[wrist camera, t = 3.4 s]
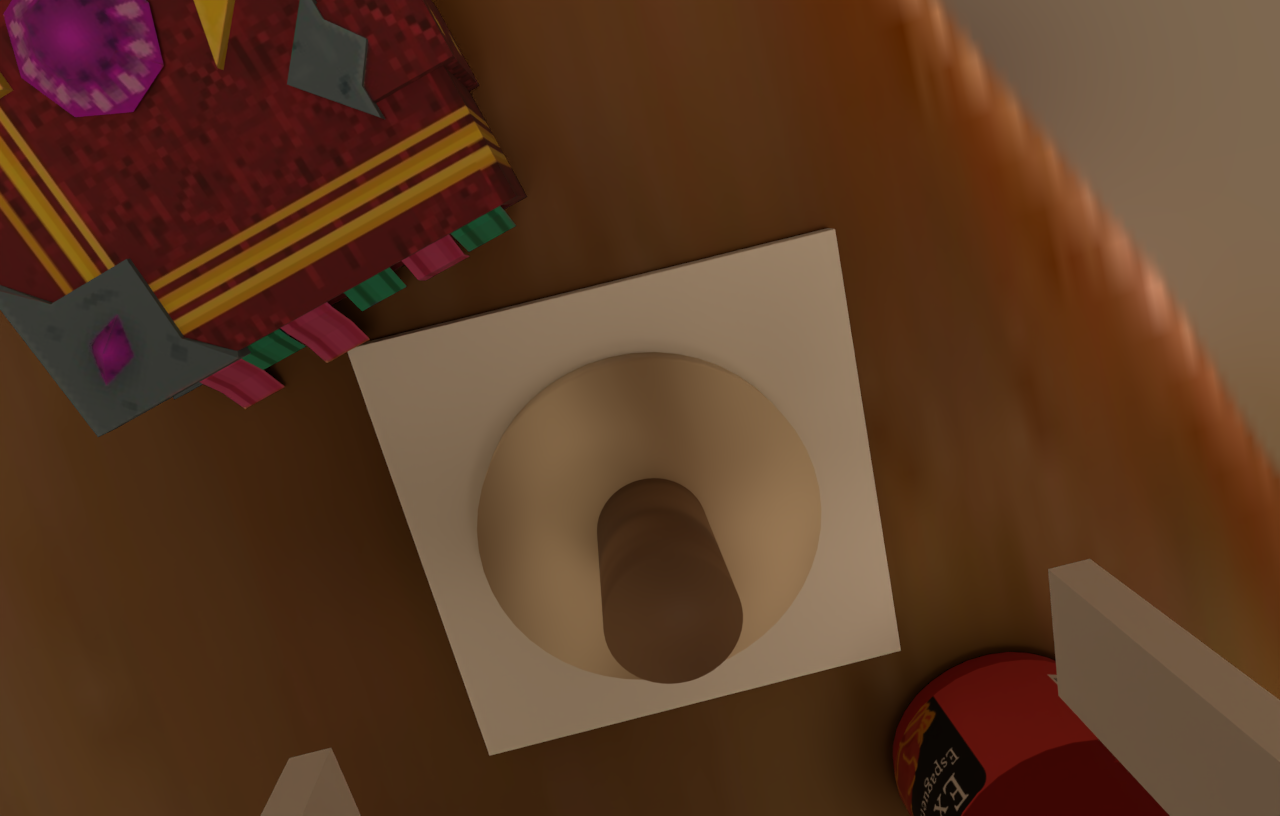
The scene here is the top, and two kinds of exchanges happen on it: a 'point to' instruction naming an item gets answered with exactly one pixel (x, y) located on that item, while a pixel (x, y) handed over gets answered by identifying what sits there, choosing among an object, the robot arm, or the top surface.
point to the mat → (588, 332)
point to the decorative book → (227, 184)
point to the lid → (648, 517)
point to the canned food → (1007, 748)
